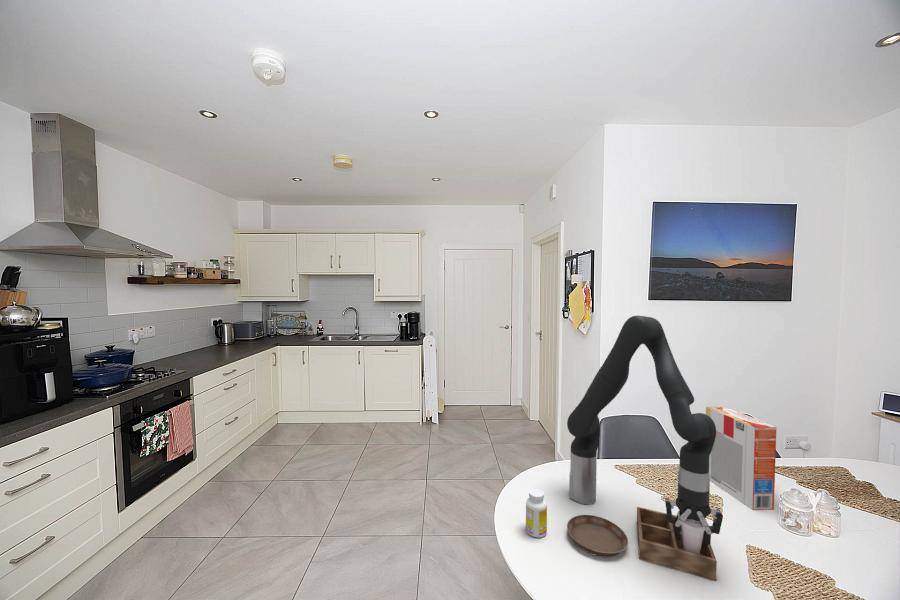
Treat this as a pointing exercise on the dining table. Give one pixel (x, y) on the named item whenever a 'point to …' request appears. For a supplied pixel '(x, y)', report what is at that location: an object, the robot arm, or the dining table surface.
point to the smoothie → (692, 535)
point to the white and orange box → (743, 457)
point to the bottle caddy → (670, 546)
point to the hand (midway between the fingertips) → (691, 540)
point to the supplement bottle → (536, 514)
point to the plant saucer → (597, 535)
